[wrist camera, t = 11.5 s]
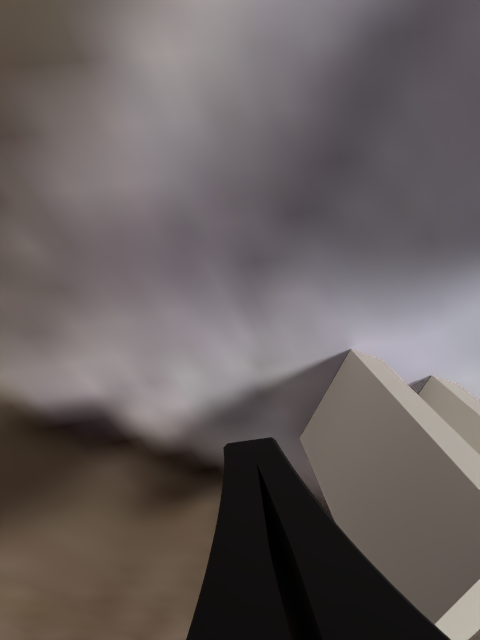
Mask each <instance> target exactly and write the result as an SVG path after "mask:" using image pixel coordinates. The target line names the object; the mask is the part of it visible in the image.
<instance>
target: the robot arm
mask: <svg viewBox="0 0 480 640" xmlns="http://www.w3.org/2000/svg"><path fill="white" fill-rule="evenodd" d="M186 640H451V639H450V638H449V637H448V636H447V635H445V634H444V633H443V632H442V631H441V630H440V629H439V628H438V627H437V626H435V625H434V624H433V623H432V622H431V621H430V620H429V619H428V618H427V617H425V616H424V615H423V614H422V613H421V612H420V611H419V610H418V609H417V608H416V607H415V606H414V605H413V604H412V603H411V602H410V601H409V600H408V599H407V598H406V597H405V596H404V595H403V594H402V593H401V592H400V591H399V590H397V589H396V588H395V587H394V586H393V585H392V584H391V583H390V582H389V581H388V579H387V578H386V577H385V576H384V575H383V574H382V573H381V572H380V571H379V570H378V569H377V568H376V567H375V566H374V565H373V564H372V563H371V562H370V561H369V560H368V559H367V558H366V557H365V555H364V554H363V553H362V552H361V551H360V550H359V549H358V548H357V547H356V546H355V544H354V543H353V542H352V541H351V540H350V539H349V538H348V537H347V535H346V534H345V533H344V532H343V531H342V530H341V528H340V527H339V526H338V525H337V524H336V523H335V521H334V520H333V519H332V518H331V517H330V515H329V514H328V513H327V512H326V511H325V509H324V508H323V507H322V505H321V504H320V503H319V502H318V500H317V499H316V498H315V497H314V495H313V494H312V493H311V491H310V490H309V489H308V488H307V486H306V485H305V483H304V482H303V481H302V479H301V478H300V477H299V475H298V474H297V472H296V471H295V470H294V468H293V467H292V465H291V464H290V462H289V461H288V459H287V458H286V456H285V455H284V453H283V452H282V450H281V448H280V447H279V445H278V443H277V442H276V440H275V439H273V438H272V437H270V438H263V439H256V440H249V441H242V442H235V443H228V444H227V445H226V446H225V447H224V478H223V488H222V495H221V501H220V507H219V513H218V519H217V525H216V530H215V534H214V538H213V543H212V547H211V552H210V556H209V561H208V565H207V569H206V573H205V577H204V580H203V584H202V588H201V592H200V595H199V599H198V602H197V606H196V609H195V613H194V616H193V619H192V623H191V626H190V629H189V632H188V635H187V639H186Z"/></svg>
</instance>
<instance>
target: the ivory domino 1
mask: <svg viewBox="0 0 480 640" xmlns="http://www.w3.org/2000/svg"><path fill="white" fill-rule="evenodd" d="M299 439H300V441H301V443H302V446H303V448H304V450H305V453H306V455H307V457H308V460H309V462H310V465H311V467H312V469H313V472H314V474H315V476H316V479H317V481H318V483H319V486H320V488H321V490H322V493H323V495H324V498H325V500H326V502H327V505H328V507H329V509H330V512H331V514H332V516H333V519H334V521H335V523H336V524H337V525H338V526H339V527H340V528H341V530H342V531H343V532H344V533H345V534H346V535H347V537H348V538H349V539H350V540H351V541H352V542H353V543H354V544H355V546H356V547H357V548H358V549H359V550H360V551H361V552H362V553H363V554H364V555H365V557H366V558H367V559H368V560H369V561H370V562H371V563H372V564H373V565H374V566H375V567H376V568H377V569H378V570H379V571H380V572H381V573H382V574H383V575H384V576H385V577H386V578H387V579H388V581H389V582H390V583H391V584H392V585H393V586H394V587H395V588H396V589H397V590H399V591H400V592H401V593H402V594H403V595H404V596H405V597H406V598H407V599H408V600H409V601H410V602H411V603H412V604H413V605H414V606H415V607H416V608H417V609H418V610H419V611H420V612H421V613H422V614H423V615H424V616H425V617H427V618H428V619H429V620H430V621H431V622H432V623H433V624H434V625H435V626H437V627H438V628H439V629H440V630H441V631H442V632H443V633H444V634H445V635H447V636H448V637H449V638H450V639H451V640H468V639H469V638H471V637H472V636H473V635H474V634H475V633H476V632H477V631H478V630H479V629H480V455H479V454H478V453H477V452H476V451H475V450H474V449H473V448H472V447H471V446H470V445H469V444H468V443H467V442H466V441H465V440H464V439H463V438H462V437H461V436H460V435H459V434H458V433H457V432H456V431H455V430H453V429H452V428H451V427H450V426H449V425H448V424H447V423H446V422H445V421H444V420H443V419H442V418H441V417H440V416H439V415H438V414H437V413H436V412H435V411H434V410H433V409H432V408H431V407H430V406H429V405H428V404H427V403H426V402H425V401H424V400H423V399H422V398H421V397H420V396H419V395H418V394H417V393H416V392H415V391H414V390H413V389H411V388H410V387H409V386H408V385H407V384H406V383H405V382H404V381H403V380H402V379H401V378H400V377H399V376H398V375H397V374H396V373H395V372H394V371H393V370H392V369H391V368H390V367H389V366H388V365H387V364H386V363H385V362H384V361H383V360H382V359H380V358H377V357H374V356H371V355H367V354H364V353H361V352H358V351H355V350H352V349H351V350H350V351H349V353H348V355H347V357H346V358H345V360H344V362H343V364H342V365H341V367H340V369H339V371H338V372H337V374H336V376H335V377H334V379H333V381H332V383H331V384H330V386H329V388H328V390H327V391H326V393H325V395H324V397H323V398H322V400H321V402H320V403H319V405H318V407H317V409H316V410H315V412H314V414H313V416H312V417H311V419H310V421H309V423H308V424H307V426H306V428H305V429H304V431H303V433H302V435H301V436H300V438H299Z"/></svg>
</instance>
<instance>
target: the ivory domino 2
mask: <svg viewBox="0 0 480 640" xmlns="http://www.w3.org/2000/svg"><path fill="white" fill-rule="evenodd" d="M418 395H419V396H420V397H421V398H422V399H423V400H424V401H425V402H426V403H427V404H428V405H429V406H430V407H431V408H432V409H433V410H434V411H435V412H436V413H437V414H438V415H439V416H440V417H441V418H442V419H443V420H444V421H445V422H446V423H447V424H448V425H449V426H450V427H451V428H452V429H453V430H455V431H456V432H457V433H458V434H459V435H460V436H461V437H462V438H463V439H464V440H465V441H466V442H467V443H468V444H469V445H470V446H471V447H472V448H473V449H474V450H475V451H476V452H477V453H478V454H479V455H480V401H479V400H478V399H477V398H475V397H474V396H473V395H472V394H470V393H469V392H468V391H467V390H465V389H464V388H463V387H462V386H460V385H459V384H458V383H455V382H452V381H449V380H446V379H443V378H439V377H436V376H433V375H432V376H431V377H430V378H429V380H428V381H427V383H426V384H425V386H424V387H423V389H422V390H421V391H420V393H419V394H418Z"/></svg>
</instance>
